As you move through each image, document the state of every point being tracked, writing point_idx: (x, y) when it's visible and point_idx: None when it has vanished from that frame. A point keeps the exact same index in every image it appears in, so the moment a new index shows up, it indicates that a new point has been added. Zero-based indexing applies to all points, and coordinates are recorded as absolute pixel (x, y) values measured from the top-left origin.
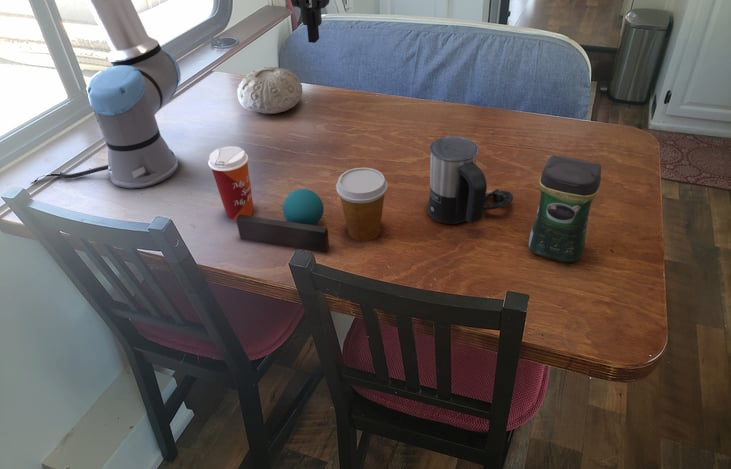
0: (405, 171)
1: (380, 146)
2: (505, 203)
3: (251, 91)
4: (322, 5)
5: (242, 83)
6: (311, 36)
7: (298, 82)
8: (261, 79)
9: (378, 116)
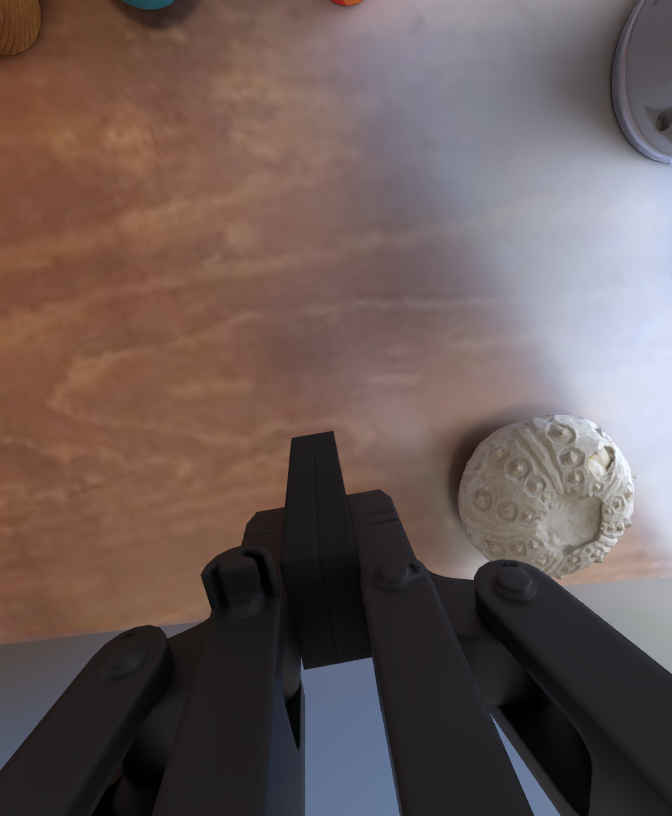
0: (64, 319)
1: (182, 403)
2: None
3: (579, 441)
4: (123, 649)
5: (623, 468)
6: (311, 448)
7: (479, 540)
8: (576, 490)
9: None
